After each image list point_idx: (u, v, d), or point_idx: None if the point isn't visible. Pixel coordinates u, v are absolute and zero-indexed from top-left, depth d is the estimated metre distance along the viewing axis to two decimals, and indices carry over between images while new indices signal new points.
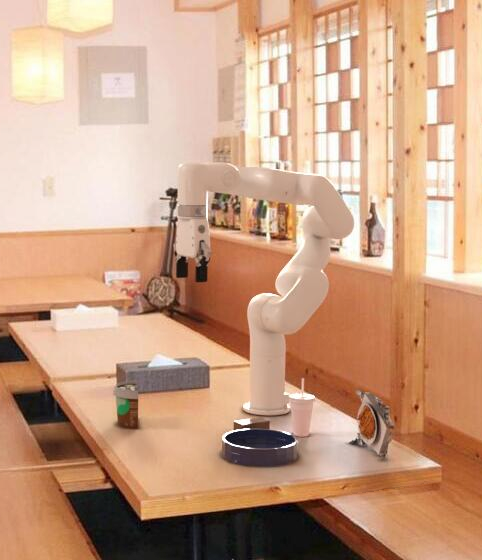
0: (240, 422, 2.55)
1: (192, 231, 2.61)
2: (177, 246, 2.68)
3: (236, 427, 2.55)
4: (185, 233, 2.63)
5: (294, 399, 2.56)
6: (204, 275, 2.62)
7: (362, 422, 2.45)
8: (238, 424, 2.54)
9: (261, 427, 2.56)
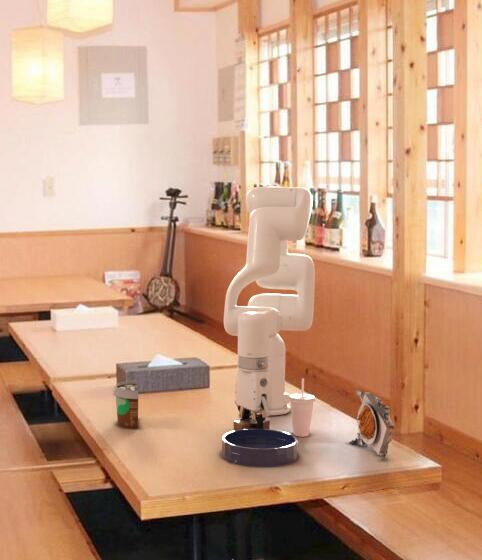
0: (240, 422, 2.55)
1: (254, 384, 2.51)
2: (236, 396, 2.58)
3: (236, 427, 2.55)
4: (246, 385, 2.53)
5: (294, 399, 2.56)
6: None
7: (362, 422, 2.45)
8: (238, 424, 2.54)
9: None
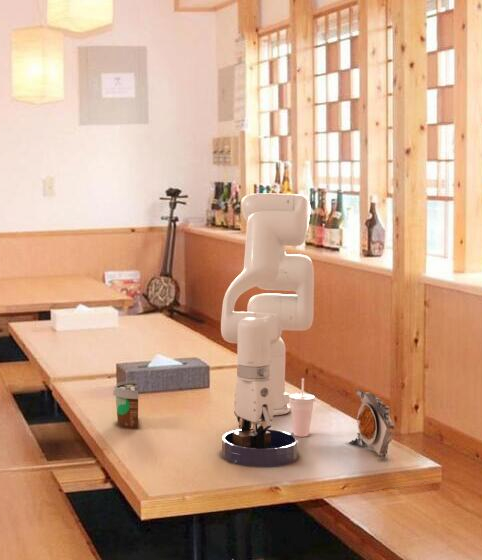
0: (240, 434, 2.42)
1: (254, 394, 2.38)
2: (236, 406, 2.45)
3: (236, 439, 2.42)
4: (246, 395, 2.40)
5: (294, 399, 2.56)
6: (261, 445, 2.41)
7: (362, 422, 2.45)
8: (238, 436, 2.41)
9: None
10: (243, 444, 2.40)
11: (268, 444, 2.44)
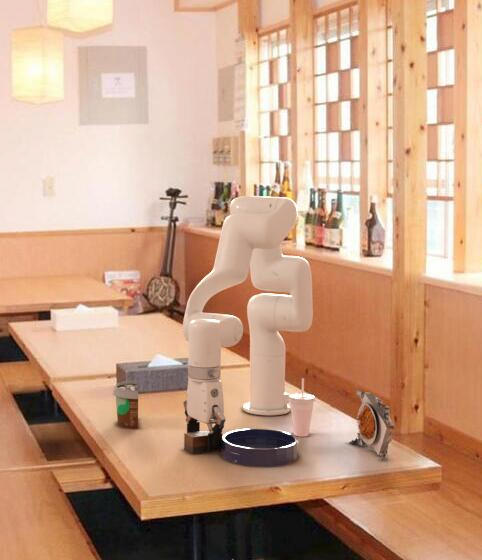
0: (191, 434, 2.43)
1: (204, 395, 2.40)
2: (188, 407, 2.47)
3: (187, 440, 2.43)
4: (197, 396, 2.42)
5: (294, 399, 2.56)
6: (217, 443, 2.41)
7: (362, 422, 2.45)
8: (189, 437, 2.43)
9: None
10: (194, 445, 2.42)
11: None
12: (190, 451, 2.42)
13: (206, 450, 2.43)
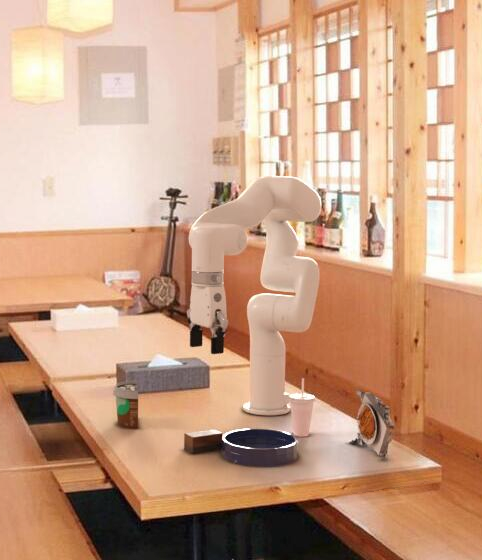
0: (191, 434, 2.43)
1: (208, 299, 2.44)
2: (191, 314, 2.51)
3: (187, 440, 2.43)
4: (200, 301, 2.46)
5: (294, 399, 2.56)
6: (220, 346, 2.45)
7: (362, 422, 2.45)
8: (189, 437, 2.43)
9: (213, 440, 2.44)
10: (194, 445, 2.42)
11: (219, 445, 2.45)
12: (190, 451, 2.42)
13: (206, 450, 2.43)
